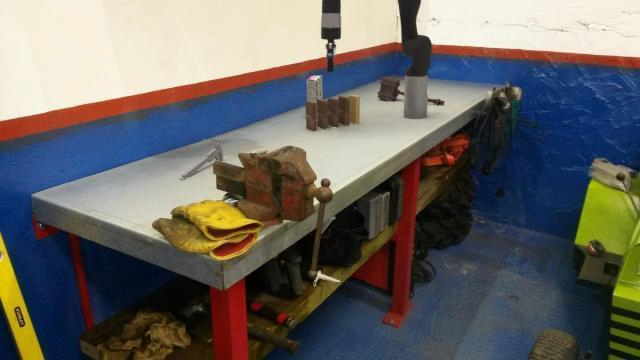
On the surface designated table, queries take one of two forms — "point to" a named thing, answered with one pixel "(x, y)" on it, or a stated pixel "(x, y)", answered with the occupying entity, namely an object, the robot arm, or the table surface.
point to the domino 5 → (354, 109)
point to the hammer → (396, 91)
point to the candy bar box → (314, 88)
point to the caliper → (205, 161)
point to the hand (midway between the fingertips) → (330, 70)
